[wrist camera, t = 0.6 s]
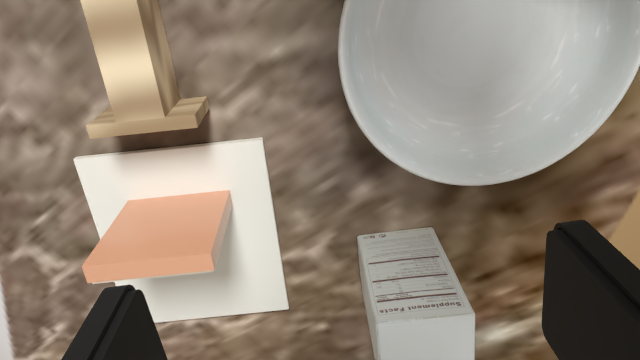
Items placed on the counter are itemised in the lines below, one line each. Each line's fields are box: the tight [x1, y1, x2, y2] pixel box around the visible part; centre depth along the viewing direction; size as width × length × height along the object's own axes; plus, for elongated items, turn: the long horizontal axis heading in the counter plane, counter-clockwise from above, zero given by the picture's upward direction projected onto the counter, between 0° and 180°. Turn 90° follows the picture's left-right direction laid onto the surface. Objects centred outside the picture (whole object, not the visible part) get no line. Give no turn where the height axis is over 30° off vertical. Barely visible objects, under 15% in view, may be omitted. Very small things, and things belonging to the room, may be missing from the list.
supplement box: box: [357, 227, 475, 360], centre depth 42 cm, size 7×7×13 cm
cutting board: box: [73, 137, 289, 323], centre depth 45 cm, size 18×16×1 cm
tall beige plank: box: [81, 0, 209, 139], centre depth 35 cm, size 15×8×5 cm, turn 6°
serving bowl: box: [338, 0, 640, 186], centre depth 35 cm, size 21×21×7 cm
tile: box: [82, 190, 232, 284], centre depth 39 cm, size 2×9×10 cm, turn 95°
